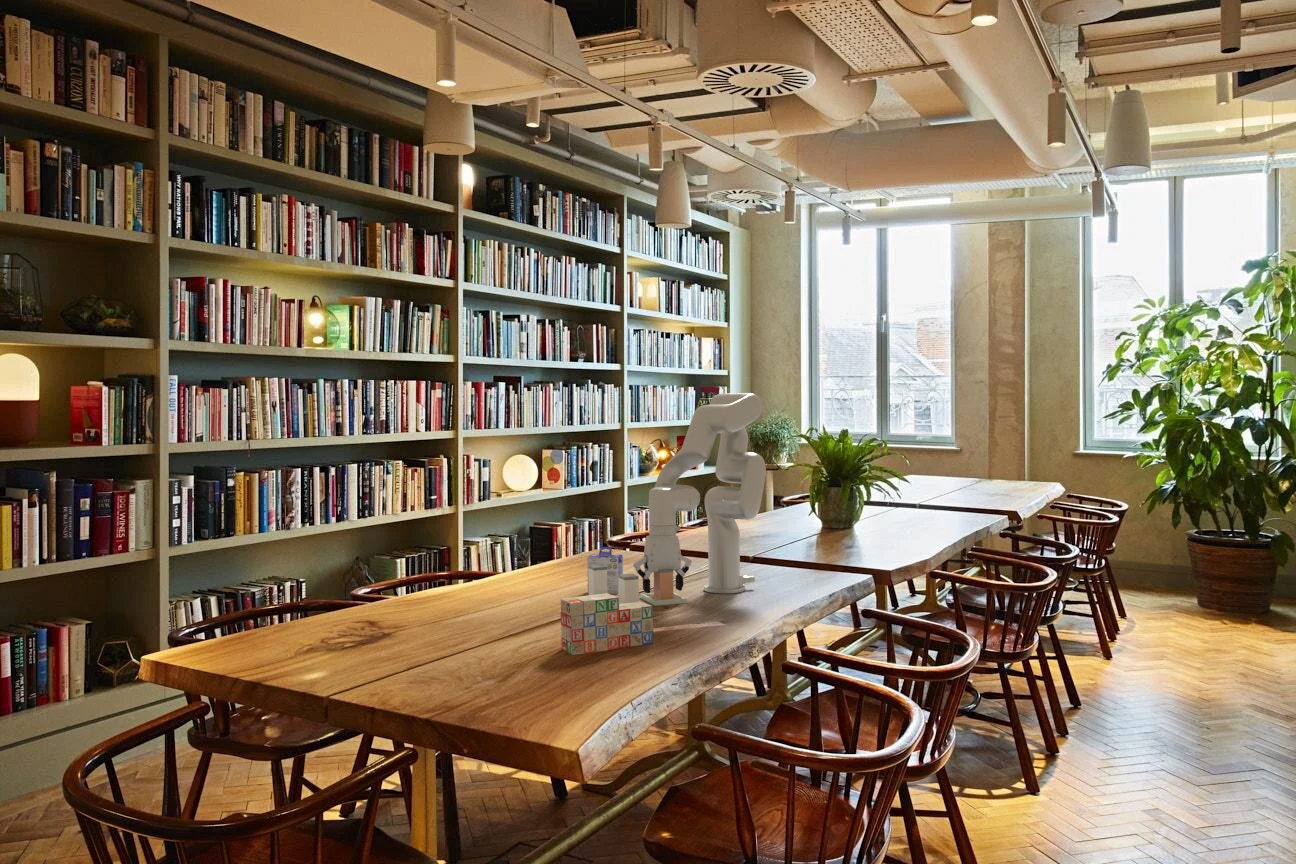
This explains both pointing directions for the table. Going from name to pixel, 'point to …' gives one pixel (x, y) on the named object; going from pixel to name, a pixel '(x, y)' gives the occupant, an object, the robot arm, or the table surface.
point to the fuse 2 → (628, 588)
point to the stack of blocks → (604, 624)
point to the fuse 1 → (597, 579)
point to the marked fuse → (663, 584)
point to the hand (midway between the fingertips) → (663, 591)
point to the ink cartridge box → (608, 568)
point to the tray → (650, 596)
